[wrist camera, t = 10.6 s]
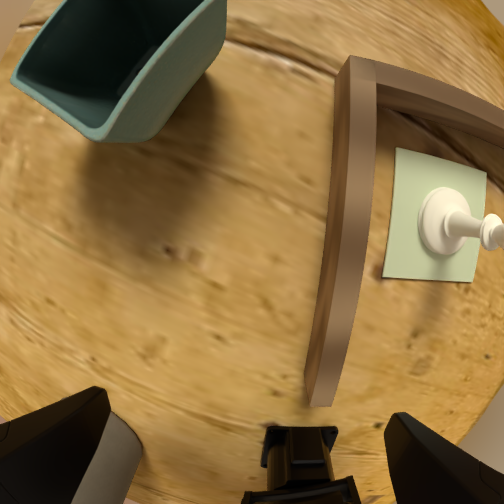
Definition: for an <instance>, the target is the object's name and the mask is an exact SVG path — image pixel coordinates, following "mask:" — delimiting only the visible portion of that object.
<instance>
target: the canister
mask: <svg viewBox="0 0 504 504" xmlns="http://www.w3.org/2000/svg"><path fill="white" fill-rule="evenodd" d="M65 398H67V397H65ZM65 398H62V399H61V400H63V399H65ZM141 457H142V449H141V444H140V442H139V440H138V439H137V437H136V435H135V433H134V432H133V431H132V430H131V429H130V428H129V427H128V426H127V424H126V423H125V422H124V421H122V420H121V419H120V418H119V417H117V416H116V415H115V414H114V413H113V412H111V413H110V416H109V418H108V421H107V424H106V427H105V429H104V432H103V435H102V438H101V441H100V443H99V446H98V449H97V451H96V453H95V455H94V457H93V459H92V461H91V463H90V465H89V467H88V469H87V471H86V473H85V475H84V477H83V479H82V481H81V483H80V486H79V488H78V490H77V492H76V494H75V496H74V498H73V501H72V503H71V504H123V502H124V500H125V497H126V495H127V492H128V490H129V487H130V484H131V482H132V479H133V477H134V474H135V472H136V469H137V467H138V464H139V462H140V459H141Z"/></svg>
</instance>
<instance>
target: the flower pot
mask: <svg viewBox="0 0 504 504" xmlns="http://www.w3.org/2000/svg"><path fill="white" fill-rule="evenodd" d="M226 21H227V0H63V1H62V3H61V4H60V5H59V6H58V7H57V9H56V10H55V11H54V12H53V13H52V15H51V16H50V17H49V19H48V20H47V21H46V23H45V24H44V25H43V26H42V28H41V29H40V31H39V32H38V33H37V35H36V36H35V37H34V39H33V40H32V42H31V43H30V45H29V46H28V48H27V49H26V51H25V52H24V54H23V55H22V57H21V59H20V60H19V62H18V64H17V65H16V67H15V69H14V71H13V74H12V76H11V78H10V83H11V84H12V85H13V86H14V87H16V88H18V89H19V90H21V91H22V92H24V93H25V94H27V95H28V96H30V97H31V98H33V99H34V100H36V101H37V102H39V103H40V104H41V105H43V106H44V107H46V108H47V109H49V110H50V111H51V112H53V113H54V114H56V115H57V116H58V117H60V118H61V119H63V120H64V121H65V122H67V123H68V124H69V125H70V126H72V127H73V128H74V129H76V130H77V131H78V132H80V133H81V134H82V135H83V136H84V137H86V138H88V139H89V140H91V141H93V142H105V143H139V142H144V141H147V140H149V139H151V138H153V137H154V136H155V135H157V134H158V133H159V131H160V130H161V129H162V128H163V126H164V125H165V124H166V122H167V121H168V119H169V118H170V116H171V115H172V113H173V112H174V111H175V109H176V108H177V106H178V105H179V104H180V102H181V101H182V100H183V98H184V97H185V96H186V94H187V93H188V92H189V90H190V89H191V88H192V87H193V85H194V84H195V83H196V82H197V80H198V79H199V78H200V77H201V75H202V74H203V73H204V72H205V71H206V70H207V68H208V67H209V66H210V65H211V64H212V62H213V61H214V60H215V58H216V57H217V55H218V54H219V52H220V50H221V48H222V46H223V43H224V40H225V35H226ZM140 70H141V71H140ZM139 71H140V72H139ZM138 72H139V74H138Z"/></svg>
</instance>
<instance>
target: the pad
mask: <svg viewBox="0 0 504 504" xmlns="http://www.w3.org/2000/svg"><path fill="white" fill-rule="evenodd" d="M486 177H487V173H486V172H483V171H481V170H478V169H475V168H472V167H468V166H465V165H462V164H459V163H456V162H452V161H449V160H445V159H442V158H438V157H434V156H431V155H427V154H423V153H419V152H415V151H411V150H407V149H402V148H398V147H395V165H394V181H393V194H392V205H391V214H390V223H389V231H388V239H387V246H386V252H385V259H384V265H383V271H382V277H392V278H409V279H425V280H443V281H462V282H473V278H474V273H475V268H476V263H477V258H478V253H479V247H480V238H474V237H468V239H467V240H466V242H465V244H464V245H463V246H462V247H461V248H460V249H459V250H458V251H456V252H455V253H452V254H448V255H443V254H437V253H434V252H432V251H431V250H429V249H428V248H427V247H426V246H425V244H424V243H423V241H422V239H421V236H420V233H419V228H418V215H419V210H420V207H421V204H422V202H423V200H424V199H425V197H426V196H427V195H428V194H429V193H430V192H431V191H433V190H434V189H436V188H440V187H447V188H451V189H454V190H456V191H458V192H459V193H461V194H462V195H463V197H464V198H465V199H466V201H467V203H468V205H469V208H470V211H471V217H473V218H476V219H478V220H481V221H483V218H484V208H485V196H486Z"/></svg>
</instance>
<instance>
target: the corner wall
mask: <svg viewBox="0 0 504 504" xmlns="http://www.w3.org/2000/svg"><path fill="white" fill-rule="evenodd" d="M376 106H378V107H382V108H387V109H391V110H395V111H399V112H403V113H406V114H410V115H414V116H417V117H421V118H424V119H427V120H430V121H434V122H437V123H440V124H443V125H446V126H449V127H452V128H454V129H457V130H460V131H463V132H465V133H468V134H471V135H473V136H476V137H478V138H481V139H483V140H485V141H488V142H490V143H492V144H495V145H497V146H499V147H501V148H504V110H502V109H500V108H498V107H496V106H494V105H493V104H491V103H489V102H487V101H485V100H483V99H481V98H479V97H476V96H474V95H472V94H470V93H468V92H466V91H463V90H461V89H459V88H456V87H454V86H451V85H449V84H447V83H444V82H441V81H439V80H436V79H433V78H431V77H428V76H425V75H422V74H419V73H416V72H413V71H410V70H407V69H404V68H400V67H397V66H394V65H390V64H386V63H383V62H379V61H375V60H371V59H366V58H362V57H357V56H353V55H349V57H348V59H347V60H346V62H345V63H344V65H343V67H342V68H341V70H340V71H339V73H338V75H337V76H336V78H335V102H334V132H333V151H332V167H331V181H330V193H329V205H328V215H327V225H326V234H325V243H324V251H323V260H322V267H321V275H320V282H319V289H318V296H317V302H316V309H315V315H314V321H313V327H312V333H311V339H310V344H309V350H308V355H307V360H306V366H305V371H304V377H305V383H306V388H307V394H308V400H309V406H310V407H331V406H332V403H333V400H334V397H335V393H336V390H337V386H338V383H339V379H340V375H341V372H342V368H343V364H344V360H345V356H346V352H347V348H348V344H349V340H350V336H351V331H352V327H353V322H354V317H355V313H356V308H357V303H358V297H359V292H360V287H361V281H362V275H363V269H364V263H365V256H366V249H367V242H368V234H369V226H370V217H371V208H372V197H373V186H374V172H375V153H376Z"/></svg>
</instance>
